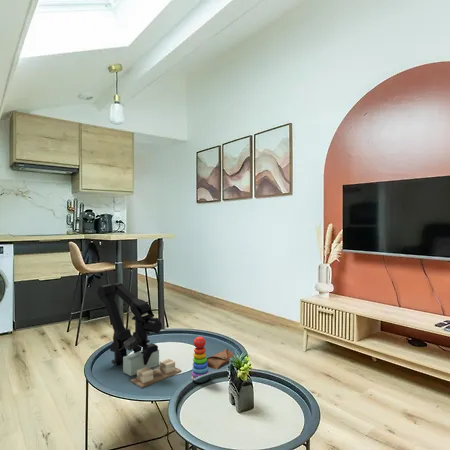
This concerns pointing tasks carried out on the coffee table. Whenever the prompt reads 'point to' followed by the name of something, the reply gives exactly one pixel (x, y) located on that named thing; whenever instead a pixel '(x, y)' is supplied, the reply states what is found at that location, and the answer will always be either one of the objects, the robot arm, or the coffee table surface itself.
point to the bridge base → (155, 373)
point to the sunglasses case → (219, 359)
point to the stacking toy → (199, 358)
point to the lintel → (138, 362)
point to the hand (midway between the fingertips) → (141, 362)
